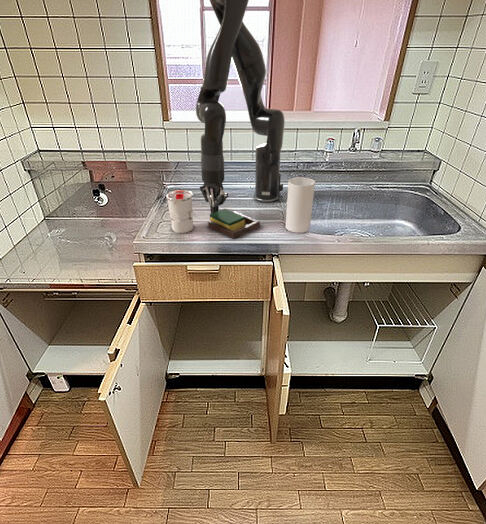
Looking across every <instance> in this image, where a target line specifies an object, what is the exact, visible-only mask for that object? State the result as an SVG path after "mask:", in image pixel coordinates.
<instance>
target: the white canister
mask: <svg viewBox="0 0 486 524" xmlns="http://www.w3.org/2000/svg"><path fill="white" fill-rule="evenodd" d="M165 197H166V200H167V207H168V212H169V217H170V224H171V229H172V231H173V232H174V233H178V234H183V233H184V234H185V233H189V232H191V231H192V230H193V229H194V210H193V192H192V191H190V190H186V189H177V190H172V191H169V192H167V193H166V195H165Z"/></svg>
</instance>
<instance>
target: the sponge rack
mask: <svg viewBox="0 0 486 524" xmlns="http://www.w3.org/2000/svg"><path fill="white" fill-rule="evenodd" d="M233 212H234V213H236V214H239V215H241V216H243V217H245V226H244V227H241V228H239V229H237V230H234V231H232V230H230V229H228V228H226V227H223V226H221V225H219V224H217V223H215V222H213V221H210V220H209V221H208V223H207V224H208V228H209V229H212V230H214V231H216V232H218V233H219V234H222V235H224V236H227V237H228V238H230V239H232V240H235V239H236V238H239V237H241V236H243V235H245V234H247V233H250V232H251V231H254V230H256V229H259V228H261V221H260V220H258V219H255V218H253V217H250V216H248V215H246V214H243V213H240V212H238V211H236V210H234V211H233Z"/></svg>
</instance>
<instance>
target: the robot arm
mask: <svg viewBox="0 0 486 524" xmlns="http://www.w3.org/2000/svg"><path fill="white" fill-rule="evenodd" d="M209 3H210V5H211V7H212V10H213V12H214V14H215V17H216V19H217V21H218V23H219V28H218V29H219V30H218V31H217V34H216V37H215V38H214V39H213V42H212V43H211V46H210V48H209V50H208V52H207V56H206V60H205V65H204V71H203V81H202V85H201V88H200V91H199V94H198V97H197V100H196V104H195V106H196V107H195V115H196V117H197V120H198V121H199V122H201V123H203V124H204V132H203V133H202V134H201V136H200V168H201V169H200V170H201V171H200V172H201V181H202V182H203V185H201V186H199V191H200V193H201V194H202V196H203V198H204V200H205V202H206V203H208V205H209V208H210V210H209V211H210V214H212V213H215V212H217V211H220V210H219V209H220V208H219V206H222V205H224V203H225V202H226V200H227V199H228V198H229V193H228V192H225V190H224V183H223V182H224V181H225V157H224V141H223V139H224V135H225V130H226V125H227V124H226V123H227V115H226V114H227V113H226V110H225V108H224V105H223V104H222V103H221V102H219V100H220V97H221V94H223V93H224V92H225V91H226V89H227V87H228V81H229V77H230V76H229V74H230V69H231V63H232V62H233V67H234V69H235V72H236V75H237V78H238V81H239V84H240V87H241V90H242V93H243V97H244V100H245V104H246V109H247V112H248V113H247V114H248V118H249V123H250V125H251V128H252V131H253V132H254V133H255V134H256V135H258V136H264V137H266V142H265V143H262V144H260V145H258V146H256V147H255V172H254V173H255V175H254V177H255V178H254V179H255V181H254V199H255V200H256V201H257V202H262V203H272V202H273V203H274V202H276V201H277V200H278V199H279V198H280V195H281V194H280V193H281V192H282V191H284V183H281V178H282V174H281V173H280V171H281V169H280V168H281V167H280V166H281V151H282V149H283V144H284V143H283V141H284V133H285V124H286V123H285V121H286V120H285V115H284V112H283V110H280V109H277V108H276V109H275V108H268V107H265V105H264V101H263V97H262V90H263V87H264V84H265V80H266V77H267V67H266V62H265V59H264V56H263V53H262V48H261V47H260V45H259V43H258V41H257V40H256V39H255V37H254V36H253V34H252V33H251V31H250V30H249V29H248V27H247V26H246V25H245V22H244V17H245V14H246V11H247V7H248V4H249V0H209Z"/></svg>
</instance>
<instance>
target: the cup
mask: <svg viewBox="0 0 486 524" xmlns="http://www.w3.org/2000/svg"><path fill="white" fill-rule="evenodd" d="M287 184H288V185H287V199H286V212H285V213H286V214H285V226H284V227H285V229H286V230H288V231H289V232H292V233H297V234H299V233H300V234H301V233H306V232H309V231H310V229H311V222H312V214H313V213H312V212H313V204H314V196H315V188H316V187H315V185H316V181H315V180H314V179H312V178H310V177H306V176H305V177H303V176H298V177H292V178H289V180H288V183H287Z"/></svg>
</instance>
